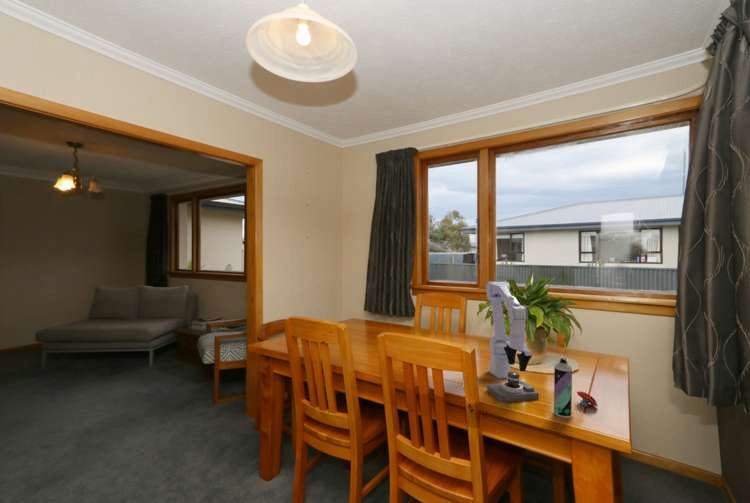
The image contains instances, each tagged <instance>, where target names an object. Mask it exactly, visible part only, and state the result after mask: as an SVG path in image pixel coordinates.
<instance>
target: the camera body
mask: <svg viewBox="0 0 750 503" xmlns="http://www.w3.org/2000/svg"><path fill="white" fill-rule="evenodd" d="M507 384H508V380H507V381H503V382H502V383H493V384H492V383H491V384H487V385H486V390H487V393H489V394H490V395H492V396H493V397H494V398H496V399H497V400H498V401H500V402H501V403H510V402H521V401H522V402H523V401H530V400H531V401H533V400H539V398H540V397H539V395H540V392H538V391H537V390H535V387H533V385H531V384H528V383H527V382H525V381H524V380H523V379H519V388H511V387H507Z"/></svg>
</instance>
